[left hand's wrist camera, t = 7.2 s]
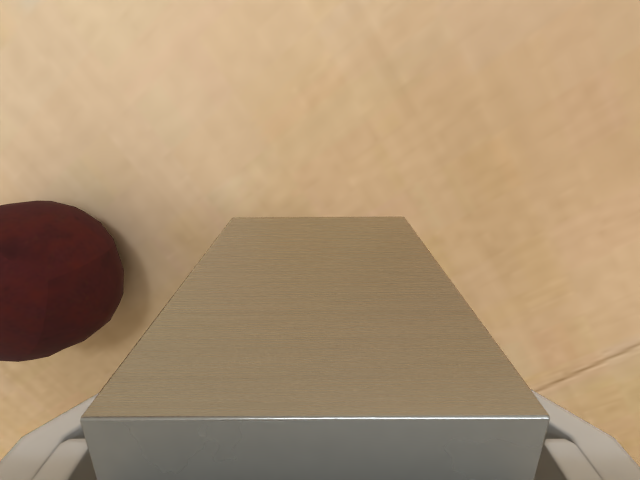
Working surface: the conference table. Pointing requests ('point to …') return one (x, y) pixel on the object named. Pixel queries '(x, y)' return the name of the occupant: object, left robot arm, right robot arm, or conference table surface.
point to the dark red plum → (53, 278)
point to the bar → (316, 368)
